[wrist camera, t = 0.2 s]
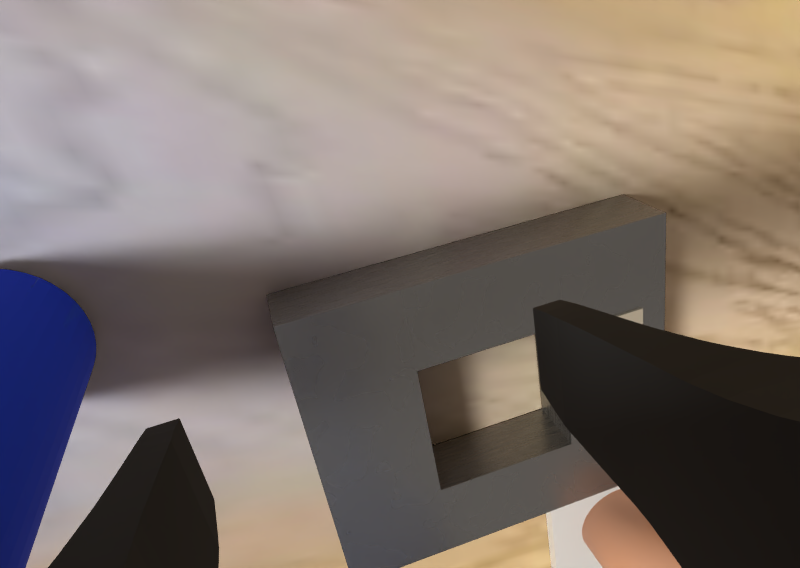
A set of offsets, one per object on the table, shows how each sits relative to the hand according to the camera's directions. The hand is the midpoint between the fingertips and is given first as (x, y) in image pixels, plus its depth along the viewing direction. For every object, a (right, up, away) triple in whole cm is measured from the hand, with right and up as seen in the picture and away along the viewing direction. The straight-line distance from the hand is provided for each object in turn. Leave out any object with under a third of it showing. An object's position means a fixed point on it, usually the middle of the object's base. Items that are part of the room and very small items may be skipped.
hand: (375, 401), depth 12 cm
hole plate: (+4, -1, +13) cm, 14 cm away
